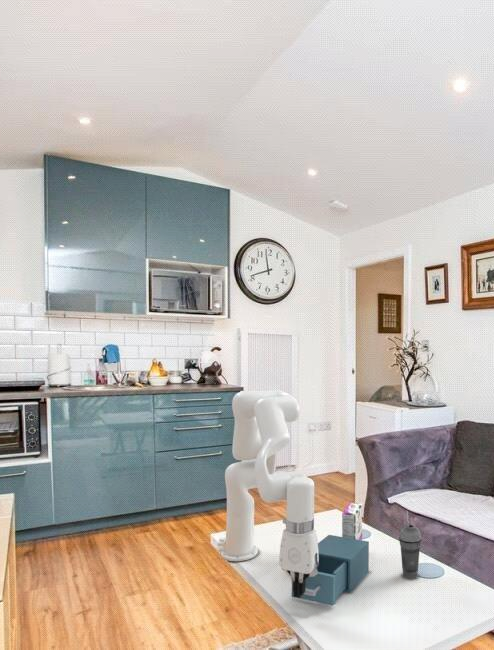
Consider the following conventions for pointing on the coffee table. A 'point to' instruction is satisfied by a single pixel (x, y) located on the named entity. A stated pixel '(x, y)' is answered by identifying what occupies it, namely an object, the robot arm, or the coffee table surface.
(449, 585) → the coffee table surface
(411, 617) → the coffee table surface
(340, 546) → the cabinet
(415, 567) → the beverage cup
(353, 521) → the candy bar box
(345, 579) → the drawer
